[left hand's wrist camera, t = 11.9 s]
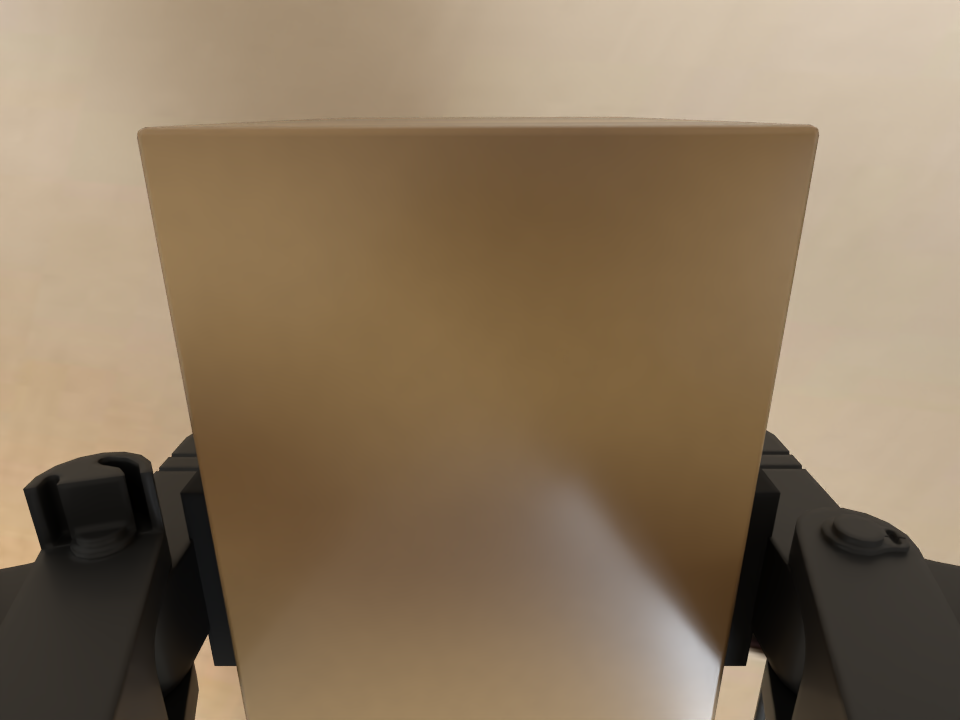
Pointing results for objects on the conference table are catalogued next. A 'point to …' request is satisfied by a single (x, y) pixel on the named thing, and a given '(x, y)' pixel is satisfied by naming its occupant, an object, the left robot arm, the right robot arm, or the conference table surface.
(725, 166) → the post
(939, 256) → the conference table surface
